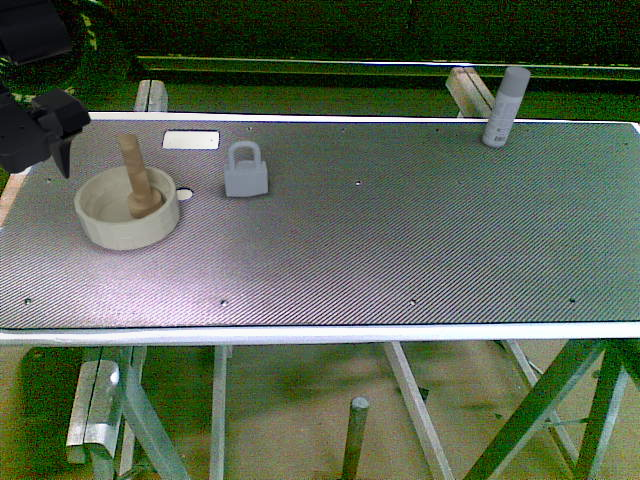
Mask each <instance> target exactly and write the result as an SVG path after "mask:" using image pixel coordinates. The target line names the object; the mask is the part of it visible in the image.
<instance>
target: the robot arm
mask: <svg viewBox="0 0 640 480" xmlns="http://www.w3.org/2000/svg"><path fill="white" fill-rule="evenodd" d="M68 31H69V30H68V29H67V26H66V24H65V23H64V22H62V20H61V18H60V15H59V14H58V11H57V10H56V8H55V6H54V5H53V2H52V1H51V0H0V59H4V58H7V59H8V60H9V62H10V63H11V64H14V65H16V66H20V65H24V64H28V63H32V62H35V61H39V60H42V59H43V60H44V59H46V58H50V57H52V56H53V57H54V56H57V55H60V54H65V53H68V52H71V51H72V49H73V45H72V41H71V37H70V34H69V32H68ZM30 104H31V106H29V107H27V108H25V107H23V106H22V104H20V103H19V102H18V101H17V99H16V98H15V96H14V95H13V93H12V92H11V90H10V88H9V86H7V85H5V83H4V81H3V79H2V76H1V75H0V166H1V168H2V169H3V170H4V171H5V172H6V173H8V174H11V175H18V174H20V173H23V172H25V171H26V170H27V169H29V168H30V167H33V166H35V165H37V164H39V163H44V162H46V161H48V160H49V159H51V157H52V159H53V161H54V163H55V165H56V167H57V169H58V171H59V172H60V174H61V176H62V177H63V178H64V179H65V180H68V179H70V178H71V177H70V175H71V147H72V142H73V140H74V139H75V138H76V137H77V136H78V135H80V134H82V133H83V131H84V129H83V128H84V127H86V126H88V125H90V124H91V122H92V118H91V115H90V112H89V110H88V108H87V106H86V105H85V104H84V102H83V101H82V100H80V99H78V98H77V97H75V96H74V95H72V94H70V93H69V92H67V91H66V90H64V89H61V88H59V87H57V88H54V89H51V90H49V91H47V92H44V93H42V94H39V95H36V96H34V97H32V98H31V100H30Z"/></svg>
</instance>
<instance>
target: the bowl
mask: <svg viewBox="0 0 640 480" xmlns="http://www.w3.org/2000/svg"><path fill="white" fill-rule="evenodd" d="M144 166H145V170H146V174H147V178H148V182H149V185H150V188H152V189H155V190H157V191H158V192H159V193H160V194H161V198H162V203H163V206H162V207H161V208H160V209H158V210H157V211H156V212H154V213H152V214H150V215H148V216H146V217H144V218H141V219H135V218H133V217H132V216H131V214H130V211H129V208H128V205H127V197H128V196H129V194H130V193H132V192H133V190H132V187H131V184H130V180H129V177H128V173H127V170H126V166H125V165H120V166H116V167H111V168H108V169H105V170H103V171H101V172H98V173H96V174H95V175H93V176H91V177H90V178H89V179H87V180H86V181H84V183H83V184H82V185H81V186H80V187H79V188H78V189H77V191H76V193H75V196H74V199H73V204H74V209H75V212H76V214H77V216H78V220H79V221H80V224H81V227H82V230H83V231H84V234H85V236H86V237H87V238H88V239H89V240H90V241H91V242H92V243H93V244H95V245H97V246H100V247H102V248H104V249H108V250H115V251H129V250H130V251H131V250H139V249H141V248H145V247H149V246H151V245H153V244H156V243H157V242H160V241H161V240H163V239H165V238H166V237H167V236H168V235H169V234H170V233H171V232H173V230H175V228H176V226H177V225H178V223H179V221H180V218H181V206H180V202H179V196H178V192H177V191H178V190H177V186H176V184H175V182H174V179H173V178H172V177H171V176H170V175H169V174H168V173H166V171H164V170H162V169H160V168H157V167H155V166H149V165H144Z"/></svg>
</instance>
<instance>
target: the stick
mask: <svg viewBox="0 0 640 480" xmlns="http://www.w3.org/2000/svg"><path fill="white" fill-rule="evenodd" d="M117 141H118V145H119V149H120V152H121V156H122V159H123V163H124V166H126V170H127V173H128V177H129V180H130V184H131V187H132V190H133V192H132V193H130V194H129V196H128V197H127V205H128V208H129V211H130V214H131V216H132V217H133V218H135V219H141V218H144V217H146V216H148V215H150V214H152V213H154V212H156V211H157V210H158V209H160V208H161V207H162V206H163V203H162V198H161V194H160V193H159V192H158V191H157V190H155V189H152V188H150V185H149V182H148V178H147V174H146V170H145V166H146V165H145V162H144V157H143V154H142V151H141V146H140V142H139V138H138V135H136V134H134V133H130V132H129V133H123V134H121V135H120V136H119V137H118V138H117Z"/></svg>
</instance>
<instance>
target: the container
mask: <svg viewBox="0 0 640 480" xmlns="http://www.w3.org/2000/svg"><path fill="white" fill-rule="evenodd" d="M531 75H532V72H531V71H530V70H529V69H527V68H524V67H521V66H515V65H511V66H508V67H507V68H506V69H505V72H504V74H503V77H502V80H501V82H500V85H499V88H498V90H497V93H496V96H495V99H494V102H493V105H492V108H491V111H490V113H489V116H488V119H487V123H486V125H485V128H484V131H483V134H482V137H481V142H482V143H483V144H484V145H486V146H488V147H490V148H497V149H498V148H503V147H504V146H505V144H506V142H507V140H508V137H509V135H510V132H511V129H512V127H513V124H514V122H515V119H516V116H517V114H518V111H519V109H520V106H521V103H522V101H523V99H524V95H525V92H526V89H527V86H528V84H529V81H530V78H531Z"/></svg>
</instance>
